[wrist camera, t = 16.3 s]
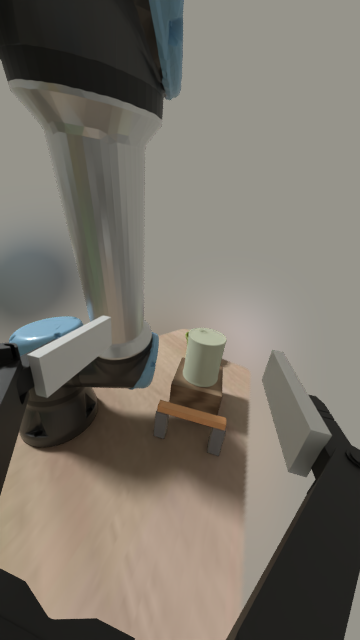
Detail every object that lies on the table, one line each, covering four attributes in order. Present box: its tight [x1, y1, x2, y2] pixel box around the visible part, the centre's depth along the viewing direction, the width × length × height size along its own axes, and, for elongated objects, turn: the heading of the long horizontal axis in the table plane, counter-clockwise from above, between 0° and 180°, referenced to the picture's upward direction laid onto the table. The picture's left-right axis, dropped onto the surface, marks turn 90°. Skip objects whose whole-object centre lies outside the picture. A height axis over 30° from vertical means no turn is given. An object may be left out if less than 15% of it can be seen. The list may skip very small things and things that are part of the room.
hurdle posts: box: [154, 409, 226, 456], centre depth 39 cm, size 14×2×7 cm, turn 77°
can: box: [183, 328, 227, 387], centre depth 46 cm, size 9×9×12 cm
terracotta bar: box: [157, 400, 226, 431], centre depth 38 cm, size 14×2×2 cm, turn 77°
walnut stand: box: [169, 358, 223, 415], centre depth 50 cm, size 12×12×9 cm
